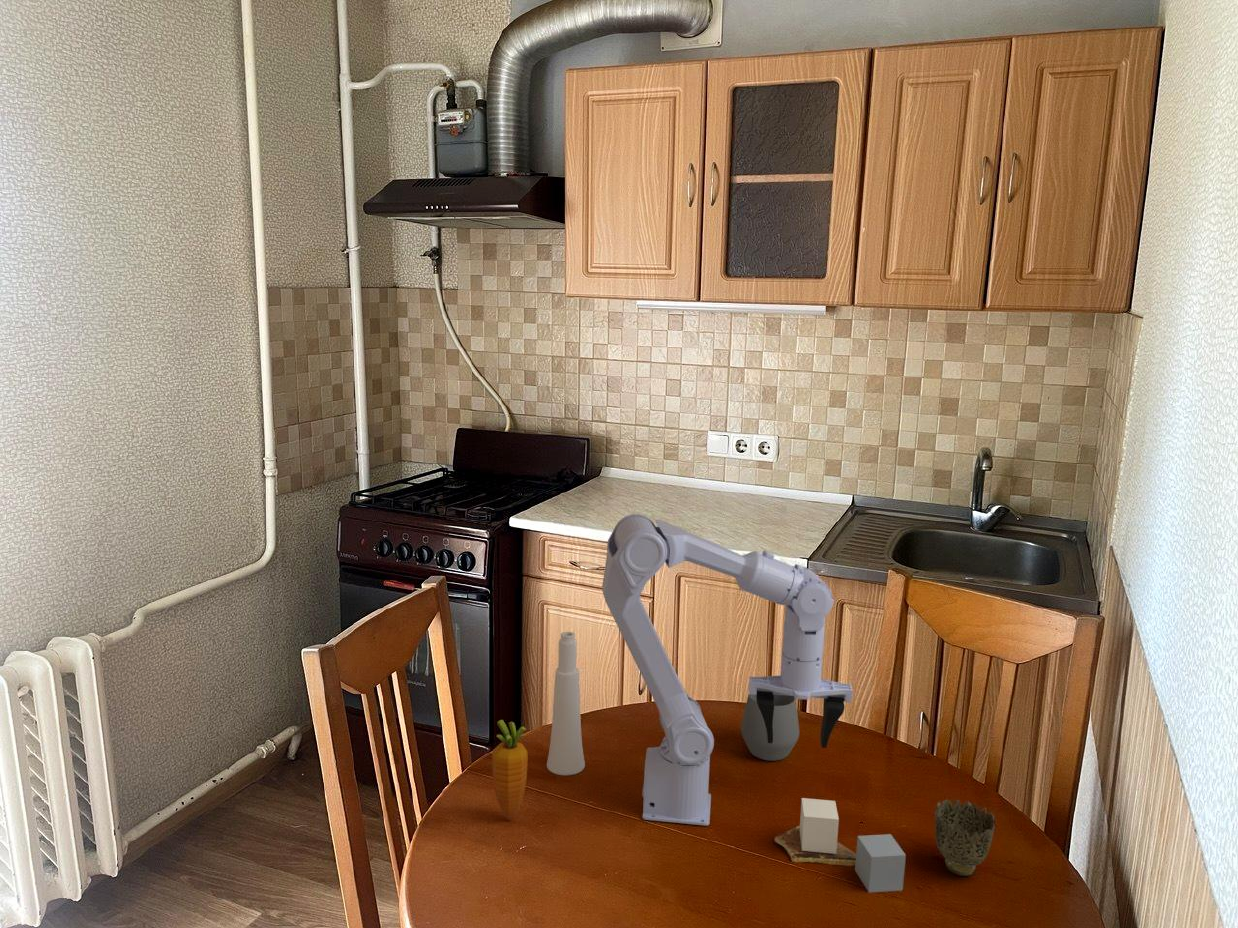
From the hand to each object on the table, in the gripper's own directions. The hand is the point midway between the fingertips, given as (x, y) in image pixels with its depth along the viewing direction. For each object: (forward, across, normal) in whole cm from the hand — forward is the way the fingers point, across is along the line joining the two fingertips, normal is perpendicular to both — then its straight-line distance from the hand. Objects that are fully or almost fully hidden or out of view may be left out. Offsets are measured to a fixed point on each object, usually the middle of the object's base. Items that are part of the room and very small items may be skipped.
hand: (796, 742), depth 131 cm
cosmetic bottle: (+10, -35, +5) cm, 37 cm away
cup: (+10, -3, +15) cm, 18 cm away
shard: (+11, +3, -10) cm, 15 cm away
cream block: (+9, +3, -11) cm, 14 cm away
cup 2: (+10, +21, -12) cm, 26 cm away
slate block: (+10, +10, -16) cm, 21 cm away
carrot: (+10, -40, -11) cm, 43 cm away
